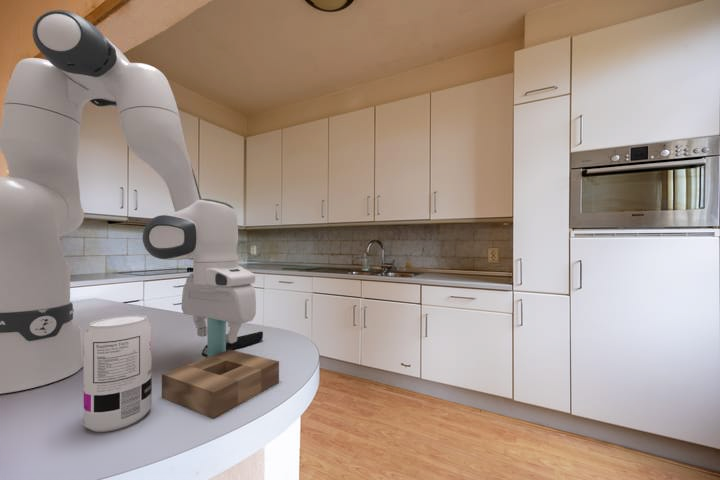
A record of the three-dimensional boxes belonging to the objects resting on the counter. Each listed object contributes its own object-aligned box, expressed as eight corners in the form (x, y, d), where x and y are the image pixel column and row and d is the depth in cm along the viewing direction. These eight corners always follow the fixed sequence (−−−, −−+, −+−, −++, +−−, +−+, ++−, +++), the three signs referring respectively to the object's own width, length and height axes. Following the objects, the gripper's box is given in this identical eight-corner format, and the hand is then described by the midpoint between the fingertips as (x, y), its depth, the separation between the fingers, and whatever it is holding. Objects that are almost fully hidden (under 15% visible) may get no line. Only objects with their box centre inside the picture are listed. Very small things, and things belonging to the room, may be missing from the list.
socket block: (161, 397, 54) (161, 374, 54) (230, 368, 66) (230, 349, 66) (213, 418, 47) (213, 392, 47) (279, 382, 60) (278, 361, 60)
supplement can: (68, 431, 44) (68, 326, 44) (122, 402, 52) (122, 313, 53) (116, 437, 43) (116, 328, 43) (164, 406, 51) (163, 315, 51)
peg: (203, 368, 66) (203, 312, 66) (218, 363, 69) (218, 309, 70) (214, 372, 65) (214, 314, 65) (229, 366, 68) (229, 310, 68)
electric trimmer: (266, 343, 84) (266, 331, 84) (207, 359, 72) (207, 345, 72) (258, 341, 87) (258, 329, 87) (200, 355, 75) (200, 342, 75)
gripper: (173, 273, 69) (173, 336, 69) (235, 278, 59) (236, 351, 59) (200, 271, 75) (200, 329, 75) (261, 275, 65) (261, 341, 65)
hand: (216, 338), depth 67 cm, fingers open, 8 cm apart
